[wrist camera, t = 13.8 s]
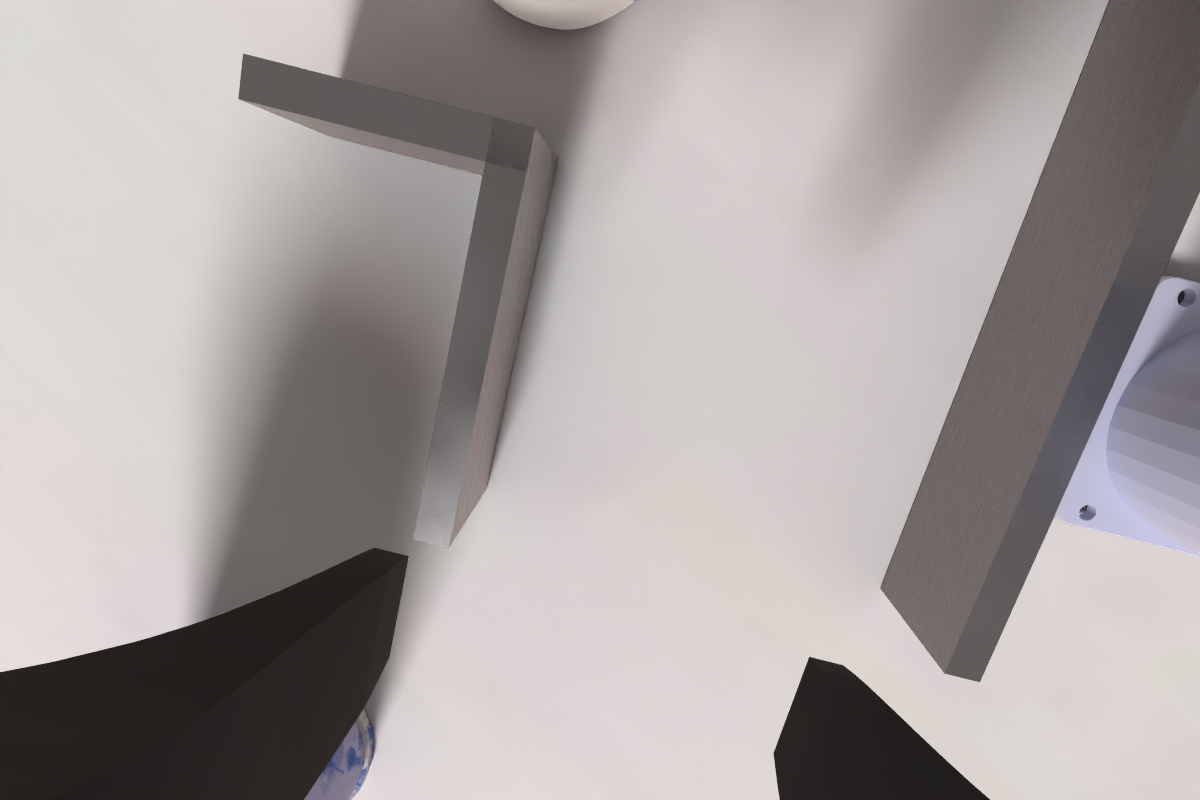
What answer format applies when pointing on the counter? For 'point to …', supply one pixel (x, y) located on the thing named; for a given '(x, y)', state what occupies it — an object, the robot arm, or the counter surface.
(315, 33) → the counter surface
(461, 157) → the rail channel
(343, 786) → the aerosol can
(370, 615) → the robot arm
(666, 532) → the counter surface
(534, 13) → the can
